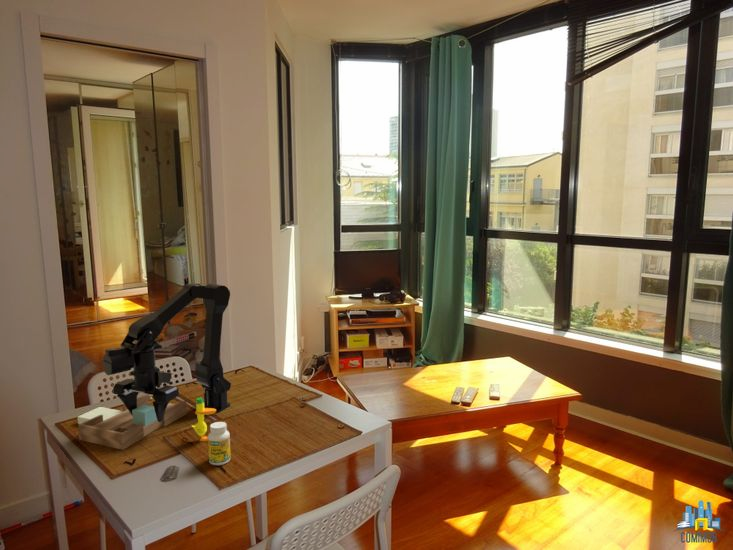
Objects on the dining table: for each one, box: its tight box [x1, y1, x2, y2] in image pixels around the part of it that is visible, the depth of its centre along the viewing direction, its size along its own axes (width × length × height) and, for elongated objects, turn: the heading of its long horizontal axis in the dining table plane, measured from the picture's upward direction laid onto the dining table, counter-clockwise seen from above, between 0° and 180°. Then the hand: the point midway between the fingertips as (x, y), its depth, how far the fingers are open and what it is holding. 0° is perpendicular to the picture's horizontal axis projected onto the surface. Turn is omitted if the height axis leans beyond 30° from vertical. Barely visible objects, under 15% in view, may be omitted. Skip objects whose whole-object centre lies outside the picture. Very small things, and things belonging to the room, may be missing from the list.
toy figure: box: [191, 397, 217, 442], centre depth 142 cm, size 7×4×12 cm, turn 99°
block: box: [132, 404, 157, 426], centre depth 148 cm, size 4×4×4 cm
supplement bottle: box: [207, 421, 232, 466], centre depth 131 cm, size 5×5×10 cm
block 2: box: [160, 465, 180, 482], centre depth 125 cm, size 4×6×2 cm, turn 10°
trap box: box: [77, 393, 188, 451], centre depth 151 cm, size 16×25×4 cm, turn 159°
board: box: [77, 406, 123, 425], centre depth 155 cm, size 10×8×2 cm
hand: (147, 419), depth 148 cm, fingers open, 9 cm apart
